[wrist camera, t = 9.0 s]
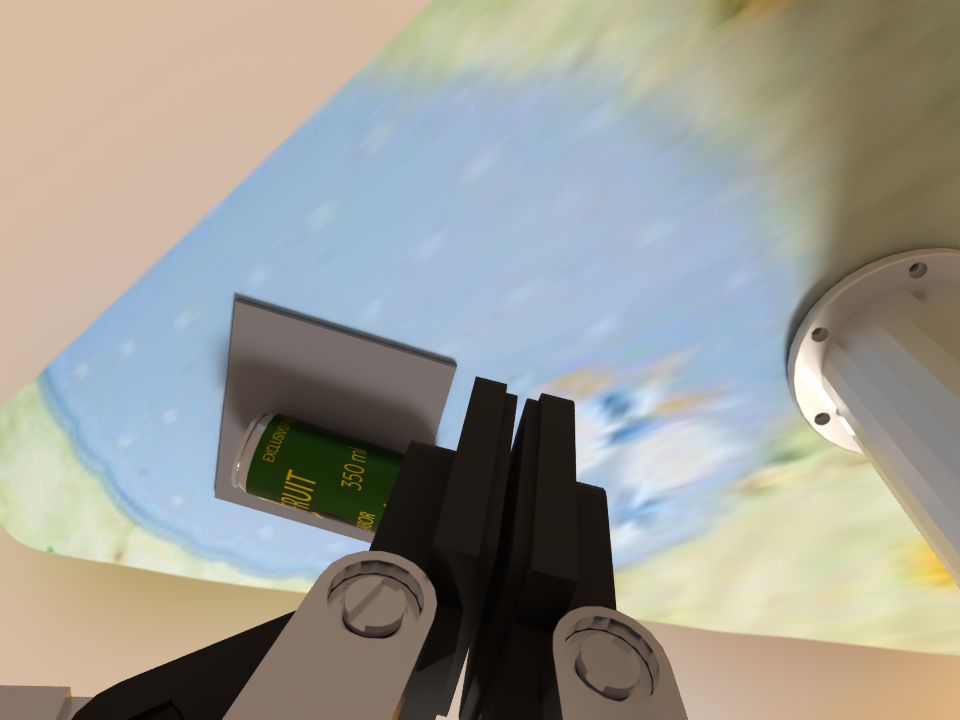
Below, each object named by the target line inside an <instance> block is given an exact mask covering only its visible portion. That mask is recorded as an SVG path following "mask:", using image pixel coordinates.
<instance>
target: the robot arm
mask: <svg viewBox="0 0 960 720" xmlns="http://www.w3.org/2000/svg"><path fill="white" fill-rule="evenodd" d="M913 264H914V266H913V267H912V268H910V267H911V266H912V265H913ZM909 268H910V269H909ZM817 328H818V329H817ZM815 329H817V330H816V331H814V330H815ZM813 331H814V332H813ZM787 369H788V385H789V388H790V391H791V395H792V398H793V401H794V402H795V404H796V406H797V408H798V409H799V411H800V413H801V415H802V416H803V418H804V419H805V420H806V422H807V423H808V425H809V426H810V427H811V428H812V429H813V430H814V431H816V432H817V433H818V434H819V435H820V436H822V437H823V438H824V439H825V440H827V441H829V442H831V443H833V444H835V445H836V446H838V447H840V448H842V449H845V450H849V451H852V452H855V453H858V454H862V455H865V456H866V457H867V459H868V460H869V461H870V463H871V464H872V466H873V467H874V469H875V470H876V471H877V473H878V474H879V476H880V477H881V478H882V480H883V481H884V483H885V484H886V485H887V487H888V488H889V490H890V491H891V493H892V494H893V495H894V497H895V498H896V500H897V501H898V502H899V504H900V505H901V507H902V508H903V509H904V511H905V512H906V514H907V515H908V516H909V518H910V519H911V521H912V522H913V524H914V525H915V526H916V528H917V529H918V531H919V532H920V533H921V535H922V536H923V538H924V539H925V540H926V542H927V543H928V545H929V546H930V548H931V549H932V550H933V552H934V553H935V555H936V556H937V557H938V559H939V560H940V562H941V563H942V564H943V566H944V567H945V569H946V570H947V571H948V573H949V574H950V576H951V577H952V579H953V580H954V581H955V583H956V584H957V586H958V587H959V588H960V250H957V249H948V248H930V249H916V250H911V251H907V252H903V253H898V254H894V255H890V256H888V257H885V258H883V259H880V260H877V261H875V262H872V263H870V264H867V265H865V266H864V267H862V268H860V269H859V270H857V271H855V272H853V273H852V274H850V275H848V276H846V277H845V278H843V279H842V280H841V281H840V282H838V283H837V284H836V285H835V286H833V287H832V288H831V289H830V290H828V291H827V292H826V293H825V294H824V295H823V296H822V297H821V298H820V300H819V301H818V302H817V303H816V304H815V305H814V306H813V307H812V308H811V309H810V311H809V312H808V314H807V315H806V317H805V319H804V320H803V322H802V323H801V325H800V326H799V328H798V330H797V333H796V335H795V338H794V340H793V343H792V345H791V348H790V354H789V359H788V365H787ZM506 390H507V384H504V383H500V382H496V381H492V380H488V379H484V378H481V377H477V376H476V378H475V382H474V386H473V390H472V393H471V397H470V401H469V405H468V409H467V413H466V417H465V420H464V424H463V428H462V432H461V436H460V440H459V444H458V447H457V451H454V450H450V449H446V448H442V447H438V446H434V445H430V444H426V443H422V442H418V441H414V440H411V442H410V444H409V446H408V449H407V451H406V454H405V457H404V459H403V462H402V465H401V467H400V470H399V473H398V475H397V478H396V481H395V483H394V486H393V488H392V491H391V494H390V496H389V499H388V502H387V504H386V507H385V510H384V512H383V515H382V518H381V520H380V523H379V525H378V528H377V531H376V533H375V536H374V539H373V541H372V544H371V547H370V549H369V551H362V552H358V553H354V554H349V555H346V556H344V557H342V558H341V559H339V560H337V561H335V562H333V563H332V564H331V565H330V566H329V567H328V568H327V569H326V570H325V571H324V572H323V573H322V574H321V575H320V576H319V578H318V579H317V581H316V582H315V584H314V585H313V587H312V588H311V590H310V591H309V593H308V594H307V595H306V597H305V598H304V600H303V601H302V603H301V604H300V606H299V607H298V609H297V610H296V611H293V612H291V613H288V614H286V615H283V616H281V617H278V618H276V619H274V620H271V621H269V622H266V623H264V624H261V625H259V626H256V627H254V628H252V629H249V630H247V631H244V632H242V633H239V634H237V635H235V636H232V637H229V638H227V639H225V640H222V641H220V642H217V643H215V644H212V645H210V646H207V647H205V648H203V649H200V650H198V651H195V652H193V653H190V654H188V655H186V656H183V657H181V658H178V659H176V660H173V661H171V662H168V663H166V664H163V665H161V666H158V667H156V668H154V669H151V670H149V671H146V672H144V673H141V674H139V675H137V676H134V677H132V678H129V679H127V680H124V681H122V682H120V683H118V684H116V685H114V686H112V687H110V688H108V689H107V690H105V691H103V692H101V693H99V694H97V695H96V696H95V697H71V689H70V687H51V686H3V685H0V720H435V719H436V716H437V715H441V716H445V717H447V715H448V712H449V709H450V705H451V703H452V699H453V696H454V693H455V690H456V686H457V684H458V680H459V677H460V674H461V670H462V668H463V664H464V661H465V658H466V655H467V652H468V649H469V652H468V659H467V665H466V671H465V678H464V684H463V691H462V697H461V704H460V710H459V720H688V718H687V715H686V711H685V708H684V705H683V702H682V699H681V696H680V692H679V689H678V686H677V683H676V680H675V677H674V674H673V671H672V667H671V664H670V662H669V660H668V658H667V656H666V654H665V652H664V649H663V647H662V646H661V645H660V644H659V642H658V641H657V640H656V639H655V637H654V636H653V635H652V634H651V632H649V631H648V630H647V629H646V628H644V627H643V626H642V625H641V624H639V623H638V622H637V621H636V620H635V619H633V618H631V617H629V616H627V615H625V614H623V613H621V612H619V611H617V610H616V598H615V587H614V575H613V564H612V553H611V541H610V530H609V518H608V507H607V496H606V491H605V490H604V489H603V488H601V487H597V486H593V485H589V484H585V483H581V482H577V481H576V447H575V404H574V401H572V400H568V399H564V398H560V397H556V396H552V395H548V394H544V393H542V394H541V395H540V398H539V400H538V401H537V400H533V399H529V398H527V400H526V403H525V406H524V409H523V413H522V416H521V419H520V423H519V426H518V429H517V433H516V436H515V440H514V443H513V446H512V450H511V444H512V436H513V429H514V421H515V414H516V406H517V398H518V396H517V395H513V394H509V393H506ZM510 452H511V453H510Z"/></svg>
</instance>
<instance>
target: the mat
mask: <svg viewBox="0 0 960 720" xmlns="http://www.w3.org/2000/svg"><path fill="white" fill-rule="evenodd" d="M456 367H457V365H455V364H452V363H449V362H445V361H442V360H439V359H435V358H432V357H429V356H426V355H422V354H419V353H416V352H412V351H409V350H406V349H402V348H399V347H396V346H392V345H389V344H386V343H382V342H379V341H376V340H373V339H369V338H366V337H363V336H359V335H356V334H353V333H349V332H346V331H343V330H339V329H336V328H333V327H329V326H326V325H323V324H319V323H316V322H313V321H310V320H306V319H303V318H300V317H296V316H293V315H290V314H286V313H283V312H280V311H276V310H273V309H270V308H266V307H263V306H260V305H257V304H253V303H250V302H247V301H243V300H240V299H237V300H236V301H235V309H234V318H233V327H232V337H231V346H230V356H229V365H228V375H227V384H226V394H225V403H224V413H223V422H222V432H221V441H220V450H219V460H218V469H217V479H216V488H215V498H218V499H221V500H225V501H228V502H232V503H235V504H239V505H242V506H245V507H249V508H252V509H256V510H259V511H263V512H266V513H269V514H273V515H276V516H280V517H283V518H286V519H290V520H293V521H297V522H300V523H304V524H307V525H310V526H314V527H317V528H321V529H324V530H328V531H331V532H334V533H338V534H341V535H345V536H348V537H352V538H355V539H358V540H362V541H365V542H369V543H372V541H373V539H374V536H375V535H374V534H371V533H368V532H365V531H362V530H358V529H355V528H352V527H349V526H346V525H342V524H339V523H336V522H333V521H329V520H326V519H323V518H320V517H317V516H313V515H310V514H307V513H304V512H301V511H297V510H294V509H291V508H288V507H285V506H281V505H278V504H275V503H272V502H269V501H265V500H262V499H259V498H256V497H253V496H249V495H247V494H246V493H245V492H244V491H243V490H242V489H241V488H240V487H239V488H237V487H234V486H233V485H232V481H231V476H232V469H233V465H234V461H235V457H236V454H237V451H238V449H239V446H240V443H241V441H242V439H243V437H244V435H245V432H246V431H247V429H248V427H249V425H250V424H251V422H252V421H253V419H254V418H255V417H256V416H257V415H258V414H259V413H260V412H264V413H267V414H268V415H270V414H277V413H278V414H282V415H285V416H288V417H292V418H295V419H298V420H301V421H304V422H307V423H310V424H314V425H317V426H320V427H323V428H326V429H329V430H332V431H336V432H339V433H342V434H345V435H348V436H351V437H354V438H358V439H361V440H364V441H367V442H370V443H373V444H376V445H380V446H383V447H386V448H389V449H392V450H395V451H398V452H402V453H405V454H406V451H407V449H408V446H409V444H410V442H411V440H414V441H418V442H422V443H426V444H430V445H433V443H434V440H435V437H436V433H437V430H438V427H439V423H440V420H441V417H442V413H443V410H444V407H445V403H446V400H447V397H448V393H449V390H450V387H451V383H452V380H453V377H454V373H455V370H456Z"/></svg>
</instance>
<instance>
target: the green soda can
mask: <svg viewBox="0 0 960 720" xmlns="http://www.w3.org/2000/svg"><path fill="white" fill-rule="evenodd" d="M404 457H405V453H402V452H398V451H395V450H392V449H389V448H386V447H383V446H380V445H376V444H373V443H370V442H367V441H364V440H361V439H358V438H354V437H351V436H348V435H345V434H342V433H339V432H336V431H332V430H329V429H326V428H323V427H320V426H317V425H314V424H310V423H307V422H304V421H301V420H298V419H295V418H292V417H288V416H285V415H282V414H278V413H277V414H270V415H268V414H267V413H264V412H260V413H259V414H258V415H257V416H256V417H255V418H254V419H253V421H252V422H251V424H250V425H249V427H248V429H247V431H246V432H245V435H244V437H243V439H242V441H241V443H240V446H239V449H238V451H237V454H236V457H235V461H234V465H233V469H232V476H231V481H232V485H233V486H234V487H237V488H239V487H240V488H241V489H242V490H243V491H244V492H245V493H246V494H247V495H249V496H253V497H256V498H259V499H262V500H265V501H269V502H272V503H275V504H278V505H281V506H285V507H288V508H291V509H294V510H297V511H301V512H304V513H307V514H310V515H313V516H317V517H320V518H323V519H326V520H329V521H333V522H336V523H339V524H342V525H346V526H349V527H352V528H355V529H358V530H362V531H365V532H368V533H371V534H374V535H375V533H376V531H377V528H378V525H379V523H380V520H381V518H382V515H383V512H384V510H385V507H386V504H387V502H388V499H389V496H390V494H391V491H392V488H393V486H394V483H395V481H396V478H397V475H398V473H399V470H400V467H401V465H402V462H403V459H404Z"/></svg>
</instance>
